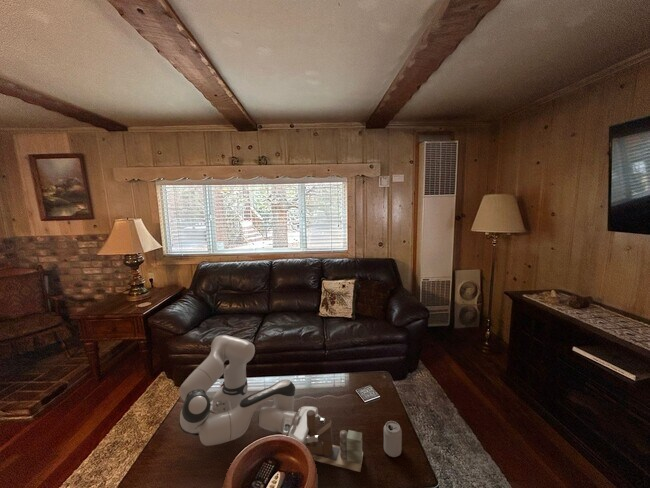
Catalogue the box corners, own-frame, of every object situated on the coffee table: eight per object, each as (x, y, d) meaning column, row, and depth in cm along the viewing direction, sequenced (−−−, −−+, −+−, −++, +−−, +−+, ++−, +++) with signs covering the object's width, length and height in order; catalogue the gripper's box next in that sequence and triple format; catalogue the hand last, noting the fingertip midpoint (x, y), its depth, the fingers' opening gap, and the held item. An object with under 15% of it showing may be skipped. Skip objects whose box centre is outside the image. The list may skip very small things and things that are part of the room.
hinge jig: (304, 457, 114) (303, 432, 112) (310, 441, 121) (309, 417, 120) (360, 472, 107) (360, 445, 105) (363, 454, 115) (363, 429, 113)
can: (381, 443, 119) (381, 419, 118) (397, 442, 120) (398, 418, 118) (386, 459, 112) (386, 434, 110) (404, 457, 113) (404, 432, 111)
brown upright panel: (331, 456, 112) (330, 418, 110) (306, 453, 114) (305, 415, 112) (332, 449, 116) (331, 411, 113) (308, 445, 118) (307, 409, 115)
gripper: (300, 412, 128) (328, 417, 124) (282, 449, 109) (314, 457, 105) (300, 400, 127) (328, 405, 123) (281, 435, 108) (313, 443, 104)
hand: (321, 429), depth 114 cm, fingers open, 8 cm apart
